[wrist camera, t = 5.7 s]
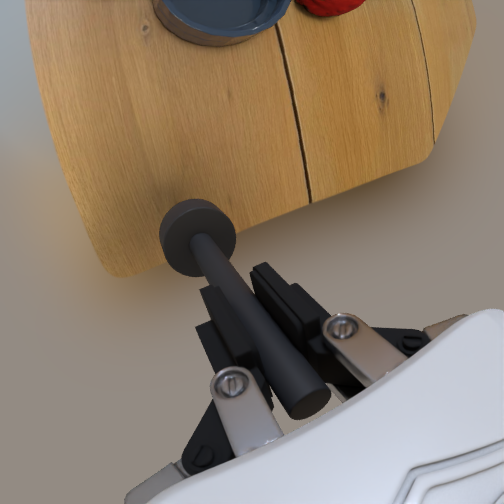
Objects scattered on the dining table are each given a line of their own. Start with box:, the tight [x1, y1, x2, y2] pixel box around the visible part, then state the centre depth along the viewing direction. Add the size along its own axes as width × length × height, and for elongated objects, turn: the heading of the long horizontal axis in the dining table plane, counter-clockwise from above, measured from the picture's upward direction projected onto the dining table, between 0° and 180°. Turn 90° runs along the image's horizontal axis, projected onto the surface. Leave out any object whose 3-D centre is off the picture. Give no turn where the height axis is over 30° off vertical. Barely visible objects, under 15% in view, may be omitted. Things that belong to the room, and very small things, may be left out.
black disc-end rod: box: [159, 199, 331, 420], centre depth 14 cm, size 4×4×14 cm
